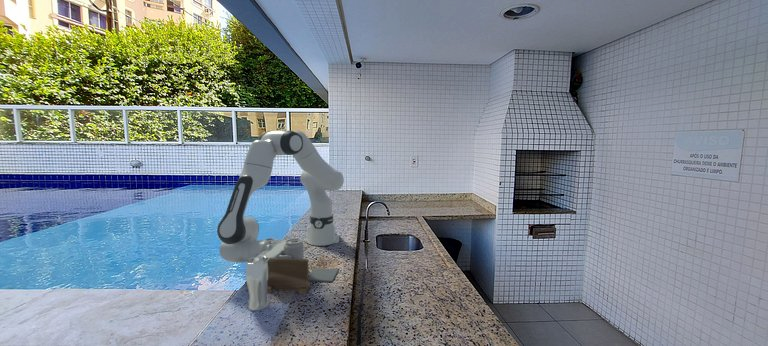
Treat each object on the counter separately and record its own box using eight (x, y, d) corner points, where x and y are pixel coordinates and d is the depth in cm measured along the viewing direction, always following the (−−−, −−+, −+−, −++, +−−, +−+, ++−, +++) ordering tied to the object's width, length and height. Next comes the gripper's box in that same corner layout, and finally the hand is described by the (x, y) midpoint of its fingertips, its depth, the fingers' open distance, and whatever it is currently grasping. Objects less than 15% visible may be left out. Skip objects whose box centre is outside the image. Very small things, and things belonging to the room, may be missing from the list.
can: (306, 266, 126) (306, 238, 125) (299, 274, 119) (299, 244, 117) (288, 265, 127) (288, 237, 126) (280, 273, 119) (280, 243, 118)
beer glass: (247, 313, 93) (246, 265, 92) (245, 303, 99) (245, 257, 98) (271, 308, 96) (271, 262, 95) (268, 298, 102) (268, 254, 101)
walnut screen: (272, 284, 113) (272, 255, 112) (310, 286, 112) (310, 257, 111) (265, 292, 107) (264, 261, 106) (304, 294, 106) (304, 263, 105)
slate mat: (314, 269, 127) (314, 268, 127) (338, 270, 127) (338, 269, 127) (305, 280, 116) (305, 279, 116) (332, 282, 116) (332, 280, 116)
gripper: (248, 253, 112) (285, 255, 111) (272, 236, 133) (304, 237, 132) (248, 270, 113) (285, 272, 112) (272, 250, 133) (304, 252, 132)
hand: (295, 253), depth 122 cm, fingers closed on can, 7 cm apart
